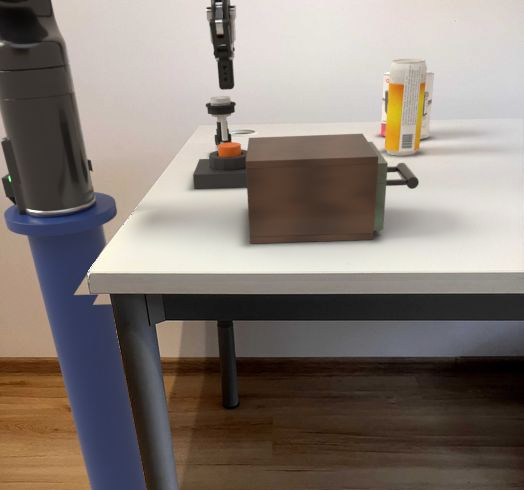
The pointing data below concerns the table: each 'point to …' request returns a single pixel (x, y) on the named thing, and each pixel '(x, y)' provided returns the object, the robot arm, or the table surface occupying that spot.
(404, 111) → the beer can
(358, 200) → the cabinet
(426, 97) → the ink box
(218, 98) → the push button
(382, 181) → the drawer
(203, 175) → the control box
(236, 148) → the button
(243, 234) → the table surface
